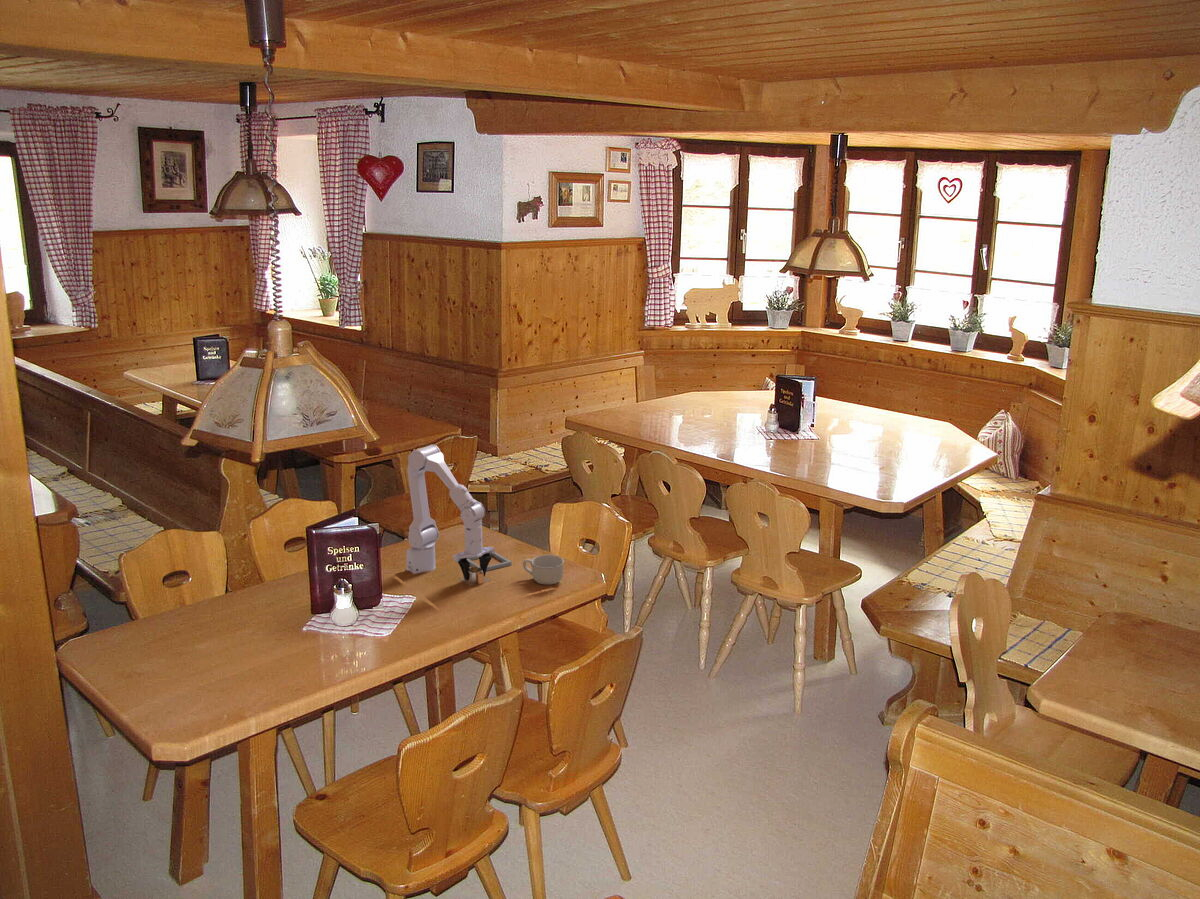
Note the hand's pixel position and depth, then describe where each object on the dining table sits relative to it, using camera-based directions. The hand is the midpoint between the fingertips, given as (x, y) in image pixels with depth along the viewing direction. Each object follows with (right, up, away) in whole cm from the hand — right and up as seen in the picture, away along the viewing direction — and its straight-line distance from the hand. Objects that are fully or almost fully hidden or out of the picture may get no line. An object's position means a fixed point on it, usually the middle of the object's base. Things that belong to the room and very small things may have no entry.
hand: (474, 577), depth 330 cm
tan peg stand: (0, -2, 0) cm, 2 cm away
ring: (0, -1, 0) cm, 1 cm away
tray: (+3, +2, +15) cm, 16 cm away
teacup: (+23, -2, +1) cm, 23 cm away
